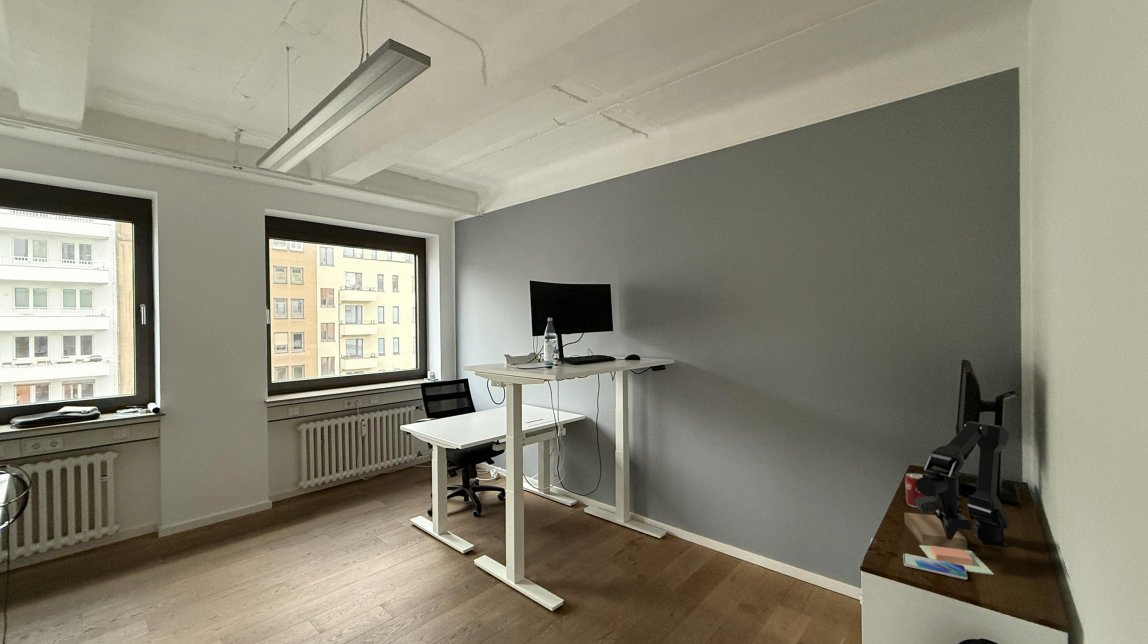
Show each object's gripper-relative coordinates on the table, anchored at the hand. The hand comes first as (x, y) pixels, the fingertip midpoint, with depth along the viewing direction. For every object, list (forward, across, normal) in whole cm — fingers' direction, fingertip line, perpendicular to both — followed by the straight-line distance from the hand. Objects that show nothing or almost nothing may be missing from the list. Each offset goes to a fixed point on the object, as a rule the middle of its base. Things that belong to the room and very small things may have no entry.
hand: (949, 539), depth 144 cm
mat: (+5, +3, 0) cm, 6 cm away
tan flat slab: (+5, -13, 0) cm, 14 cm away
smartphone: (+5, +11, -8) cm, 14 cm away
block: (+3, +3, -1) cm, 4 cm away
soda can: (+5, -42, +4) cm, 42 cm away
